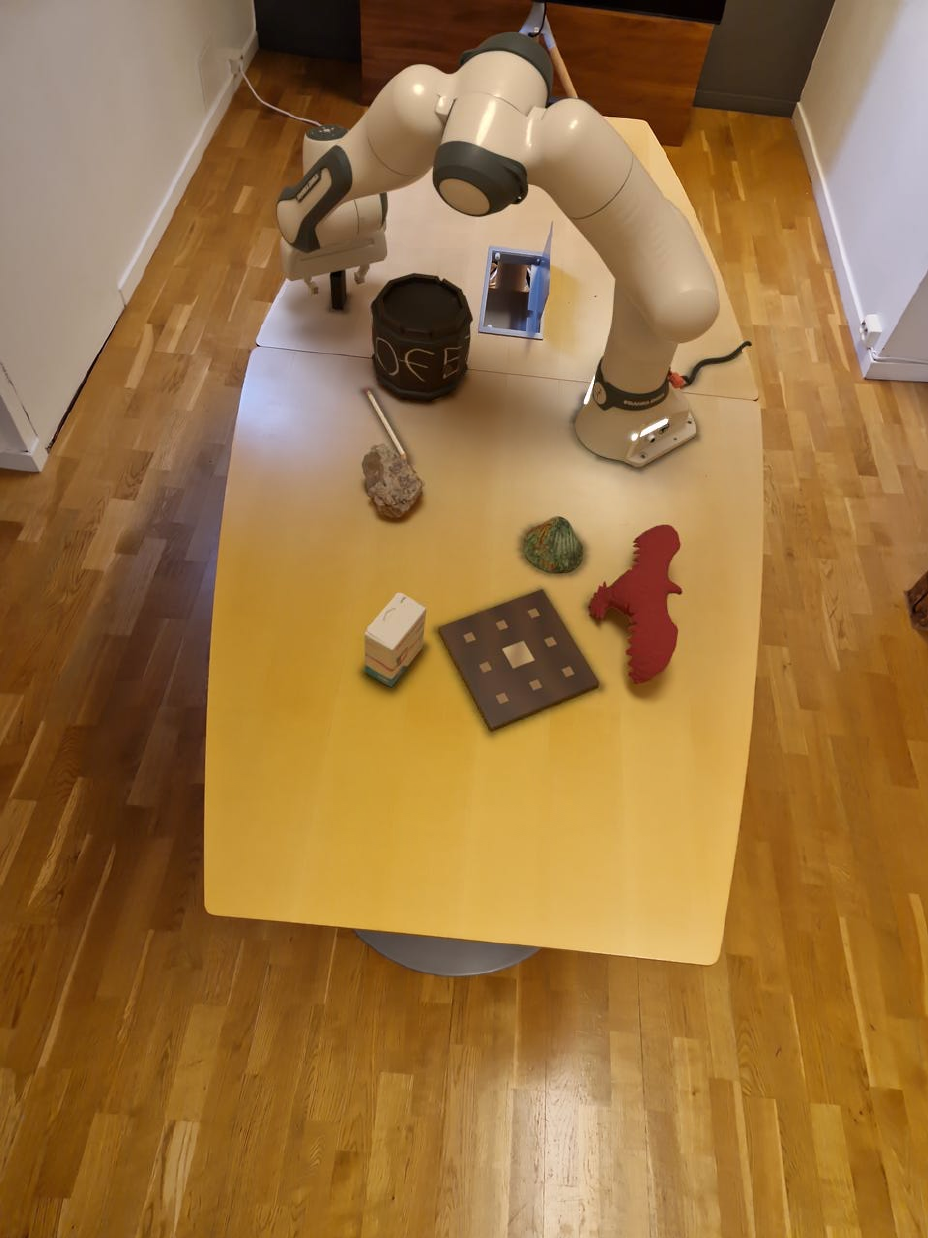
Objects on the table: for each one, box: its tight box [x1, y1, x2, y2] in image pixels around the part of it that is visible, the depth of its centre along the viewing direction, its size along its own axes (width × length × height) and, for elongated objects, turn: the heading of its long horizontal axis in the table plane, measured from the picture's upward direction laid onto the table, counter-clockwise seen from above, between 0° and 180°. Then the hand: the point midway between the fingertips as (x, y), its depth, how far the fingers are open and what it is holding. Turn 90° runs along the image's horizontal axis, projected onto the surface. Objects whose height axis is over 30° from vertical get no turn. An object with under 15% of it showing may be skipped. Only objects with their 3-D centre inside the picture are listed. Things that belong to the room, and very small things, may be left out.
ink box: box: [364, 591, 427, 688], centre depth 116 cm, size 9×5×12 cm, turn 148°
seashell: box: [523, 515, 584, 574], centre depth 132 cm, size 10×4×10 cm
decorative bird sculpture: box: [587, 524, 683, 685], centre depth 124 cm, size 28×9×15 cm
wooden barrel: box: [369, 272, 474, 404], centre depth 146 cm, size 18×18×16 cm
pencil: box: [365, 388, 408, 459], centre depth 145 cm, size 1×19×1 cm, turn 25°
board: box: [437, 588, 600, 732], centre depth 122 cm, size 18×18×1 cm
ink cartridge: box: [329, 269, 348, 311], centre depth 158 cm, size 5×2×8 cm, turn 175°
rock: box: [361, 442, 426, 519], centre depth 133 cm, size 9×12×10 cm
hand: (336, 287), depth 158 cm, fingers open, 8 cm apart
